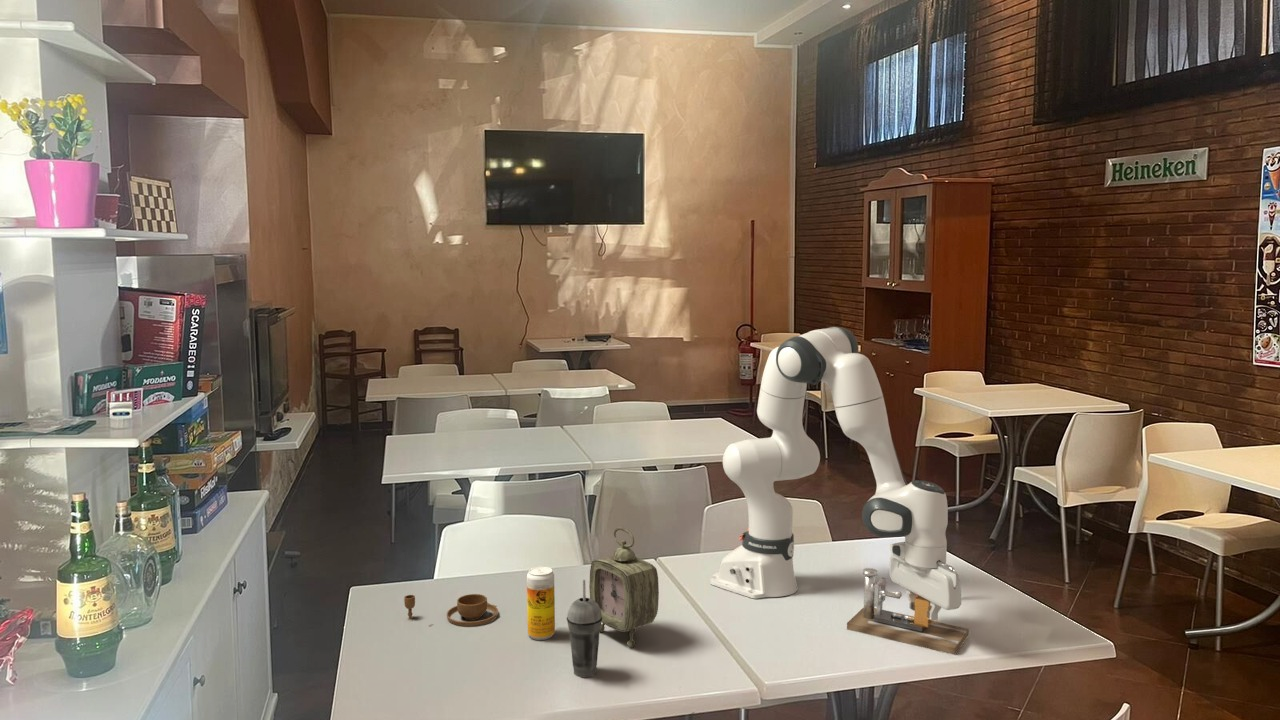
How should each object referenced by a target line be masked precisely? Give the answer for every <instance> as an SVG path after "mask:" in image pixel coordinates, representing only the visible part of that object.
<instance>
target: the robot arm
mask: <svg viewBox="0 0 1280 720" xmlns="http://www.w3.org/2000/svg"><path fill="white" fill-rule="evenodd" d="M877 376H878V375H877V373H876V371H875V368H874V366H873V365H872V363H871V361H870V359H869V358H868V357H867V356H866V355H865V354H862V353H859V344H858V340H857V337H856V336H855V335H854V334H853V332H852V331H850V330H849V329H847V328H844V327H842V326H841V327H840V326H829V327H826V328H821V329H819V328H818V329H814V330H810V331H808V332H806V333H803V334H800V335H797V336H796V335H795V336H792V337H790V338H788V339H786V340H784V342H782V343H781V344H780V345H778V346H776V347H775V348H773V349H772V350H771V351H770V353H769V355H768V357H767V360H766V363H765V366H764V370H763V372H762V378H761V382H760V389H759V395H758V401H757V405H756V406H757V407H756V414H757V418H758V419H759V422H761V423H762V424H763V425H764V426H765V427H767V428H768V429H771V430H772V434H771V436H770V437H763V438H759V437H758V438H749V439H747V438H746V439H743V440H739V441H736V442H733V443H730V444H729V445H728V446H727V447H726V448H725V450H724V452H723V455H722V467H723V468H722V469H723V470H724V473H725V475H726V476H727V477H728V478H729V479H730V481H732V482H733V483H735V484H736V485H737V486H738V487H739V488H740V489H741V492H742V493H743V494H744V498H745V500H746V504H747V513H748V514H747V516H748V517H747V518H748V528H747V530H746V531H744V532H743V533H742V534H741V535H739V539H738V540H739V541H741V542H742V543H741V544H740V545H739V546H738V547H736V548H734V549H733V550H732V551H730V552H729V553H727V554H726V555H725V556H723V558H722V560H721V561H720V565H719V569H718V571H716V572H715V573H713V574H712V575H711V577H710V578H709V579H710V580H709V583H710V585H711V586H712V585H713V586H714V587H717V588H719V589H720V588H721V589H724V590H727V591H730V592H732V593H735V594H739V595H741V596H745V597H748V598H750V599H763V598H777V597H778V598H779V597H785V596H790V595H792V594H794V593H796V591H797V590H798V588H799V587H798V584H797V580H796V577H795V570H794V569H795V568H794V561H793V560H794V559H793V558H794V553H795V552H794V551H795V540H794V539H795V537H794V536H795V534H794V533H793V513H794V511H793V505H792V503H791V502H790V501H789V499H787V498H786V497H785V496H783V495H782V494H780V493H777V492H775V489H774V483H775V482H777V481H787V480H798V479H801V478H805V477H808V476H810V475H813V474H814V473H816V472H817V469H818V467H819V465H820V460H821V454H820V450H819V447H818V445H817V444H816V443H815V441H814V440H813V439H811V437H809V436H808V434H807V433H806V431H805V429H804V425H803V415H804V413H803V412H804V407H805V406H804V405H805V399H806V393H807V385H808V384H810V385H818V384H819V383H820V382H822V383H824V384H825V385H827V387H828V388H829V391H830V394H831V398H832V403H833V406H834V407H833V408H834V411H835V415H836V418H837V421H838V424H839V425H840V428H841V430H842V433H843V434H844V435H845V436H846V437H847V438H849V439H850V440H852V441H855V442H857V443H858V444H860V445H861V446H862V447H863V448H864V450H865V452H866V454H867V457H868V459H869V462H870V466H871V469H872V472H873V476H874V479H875V483H876V489H875V493H874V495H873V496H871V497H870V498H869V499H868V500H867V501H866V503H864V505H863V506H862V507H863V508H862V511H861V518H862V522H863V525H864V526H865V528H866V529H867V530H868V531H869V533H871V534H872V535H874V536H877V537H879V538H903V537H904V541H901V542H896V543H891V544H890V545H889V551H890V553H891V555H890V556H889V568H888V569H889V571H888V572H889V577H890V579H891V582H893V583H894V584H897V585H898V586H900V587H902V588H904V589H906V592H905V594H906V595H907V598H908V601H909V609H910V610H912V611H914V612H915V598H916V597H917V596H918V595H919V596H921V597H923V598H925V599H927V600H929V601H930V605H931V606H932V608H931V610H930V611H927V618H928V619H930V620H932V621H938V619H939V618H938V617H939V612H940V611H941V609H944V610H946V611H951V610H957V609H959V608H960V607H961V606H962V589H961V588H962V587H961V579H960V576H959V574H958V573H957V571H956V569H955V567H954V566H953V565H949V564H947V549H948V548H947V547H948V545H947V544H948V542H947V537H946V531H947V527H948V519H949V518H948V517H949V515H948V514H949V512H948V511H949V510H948V508H949V507H948V498H947V493H946V491H945V490H944V489H943V488H942V487H941V486H940V485H938V484H936V483H934V482H931V481H927V480H913V481H910V482H909V483H908V481H907V480H906V478H905V476H904V474H903V470H902V467H901V464H900V460H899V458H898V455H897V451H896V447H895V445H894V444H895V443H894V441H893V439H892V438H893V437H892V433H891V430H890V425H889V424H890V423H889V418H888V413H887V412H888V411H887V407H886V403H885V398H884V393H883V391H882V387H881V384H880V382H879V379H878V378H879V377H877ZM916 594H917V595H916Z"/></svg>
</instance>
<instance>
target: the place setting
mask: <svg viewBox="0 0 1280 720" xmlns="http://www.w3.org/2000/svg"><path fill="white" fill-rule="evenodd" d="M403 600H404V601H403V602H404V606H405V609H408V612H407V616H408V618H407V619H408V620H413V612H412V611H413V610H412V609H414V608H415V605H416V595H413V594H407V595H405V596H404V599H403ZM456 600H457V601H456V605H455V606H453V607H450V609H448V610H447V612H446V619H447V621H448V622H450V624H453V625H455V626H459V627H477V626H483V625H486V624H489V623H492V622H493V621H494V620H495V619H496V618H497V616H498V614H499V609H498V608H497V607H498V606H497V605H495V604H491V603H489V602H488V597H487V596H486V595H483V594H478V593H472V594H465V595H461V596H460V597H458V599H456ZM487 610H489V611H490V612H492V613H494V614H493V615H492V616H490V617H487V618H485V619H482V620H478V619H480V618H481V617H482V616H483V615H485V613H486V612H487ZM455 613H458V614H459V616H461V617H463V618H464V619H465V620H469V621H460V620H456V619H453V618H452V617H451V616H452V615H454V614H455ZM475 620H477V621H475ZM433 626H434V624H433V623H431V624H429V625H428V627H430V628H431V627H433Z"/></svg>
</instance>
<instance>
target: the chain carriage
mask: <svg viewBox="0 0 1280 720" xmlns="http://www.w3.org/2000/svg"><path fill="white" fill-rule="evenodd" d="M886 583H887V580H886V577H881V578H880V579H879V580H878V581H877V582H875V597H874V606H875V607H874V608H877V614H876V615H875V616H874V620H873V621H876V622H881V623H885V624H889V625H894V626H898V627H903V628H907V629H911V630H916V631H920V632H922V631H923V630H924V629H925V628H926V627H928V626H929V625H930V624H931V623H932V620H930V619H928V618H927V611H930V610H931V608H932V606H931V605H930V601H929V600H927V599H925V598H923V597H921V596H919V595H917V597H916V598H915V611H914V616H913V615H909V616H908V614H903V613H900V612H893V611H891V612H890V610H886V609H883V603H884V601H886V596H883V595H879V589H880V590H885V591H886ZM885 610H886V611H885ZM899 613H900V614H899Z"/></svg>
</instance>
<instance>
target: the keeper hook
mask: <svg viewBox="0 0 1280 720" xmlns="http://www.w3.org/2000/svg"><path fill="white" fill-rule="evenodd" d="M862 575H864V582H863V583H864V586H863V587H864V591H863V593H864V594H863V607H864V616H863V617H864V618H866V619H873V618H874V608H876V607H875V606H874V597H875V584H876V576H878V570H877V569H875V568H871V567H869V568H868V567H867V568H864V569H863V570H862ZM881 595H883V596H885V597H888V598H889V597H890V598H894V599H896V600H897V599H898V600H900V599H901V597H902V596H903V595H902V592H901V591H899V590H896V591H895V592H893V591H889V590H886V589H885V590H881V588H879V596H881Z"/></svg>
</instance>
